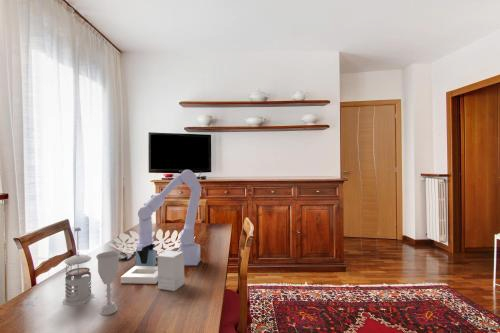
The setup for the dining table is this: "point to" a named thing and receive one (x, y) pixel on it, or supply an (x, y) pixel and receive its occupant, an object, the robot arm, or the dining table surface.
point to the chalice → (108, 277)
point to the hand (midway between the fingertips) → (145, 261)
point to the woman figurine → (123, 255)
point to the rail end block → (150, 259)
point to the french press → (77, 280)
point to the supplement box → (170, 270)
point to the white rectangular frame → (141, 275)
